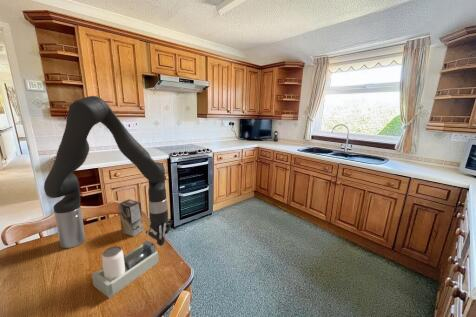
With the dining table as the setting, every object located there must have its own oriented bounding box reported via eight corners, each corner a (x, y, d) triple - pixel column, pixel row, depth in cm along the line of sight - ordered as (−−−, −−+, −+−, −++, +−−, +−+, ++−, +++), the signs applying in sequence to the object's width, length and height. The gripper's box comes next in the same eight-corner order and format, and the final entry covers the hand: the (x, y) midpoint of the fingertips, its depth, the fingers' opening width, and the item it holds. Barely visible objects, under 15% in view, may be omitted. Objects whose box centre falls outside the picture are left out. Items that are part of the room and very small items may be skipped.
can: (117, 288, 70) (113, 258, 68) (100, 285, 71) (96, 256, 69) (129, 274, 76) (126, 246, 74) (114, 272, 77) (111, 244, 75)
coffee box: (143, 230, 107) (141, 202, 103) (133, 237, 101) (130, 207, 98) (131, 226, 111) (129, 198, 107) (120, 232, 105) (117, 203, 102)
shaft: (124, 267, 80) (123, 254, 78) (148, 252, 88) (147, 240, 87) (132, 273, 77) (131, 259, 76) (155, 256, 86) (154, 244, 85)
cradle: (93, 285, 72) (91, 273, 71) (143, 253, 89) (142, 243, 88) (109, 298, 68) (107, 285, 67) (158, 261, 85) (158, 251, 84)
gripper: (150, 217, 80) (154, 256, 83) (176, 205, 91) (178, 239, 95) (138, 212, 83) (142, 250, 87) (164, 201, 95) (166, 234, 98)
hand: (161, 244), depth 91 cm, fingers closed
